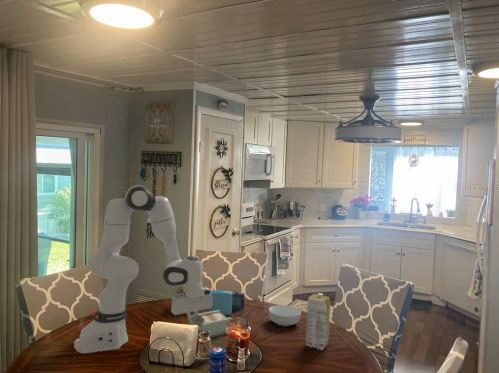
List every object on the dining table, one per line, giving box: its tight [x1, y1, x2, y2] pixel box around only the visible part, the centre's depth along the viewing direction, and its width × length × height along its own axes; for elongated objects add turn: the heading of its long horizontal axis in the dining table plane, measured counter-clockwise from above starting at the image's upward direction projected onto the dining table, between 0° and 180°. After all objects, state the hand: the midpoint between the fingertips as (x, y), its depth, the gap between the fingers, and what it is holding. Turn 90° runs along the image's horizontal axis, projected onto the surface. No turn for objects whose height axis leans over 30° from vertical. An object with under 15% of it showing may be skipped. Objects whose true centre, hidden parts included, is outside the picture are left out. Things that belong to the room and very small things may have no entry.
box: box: [189, 310, 233, 338], centre depth 193 cm, size 16×13×7 cm
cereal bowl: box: [268, 304, 302, 327], centre depth 206 cm, size 17×17×7 cm
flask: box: [232, 289, 245, 311], centre depth 225 cm, size 9×3×11 cm, turn 91°
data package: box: [208, 289, 233, 316], centre depth 217 cm, size 12×4×12 cm, turn 91°
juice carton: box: [305, 292, 331, 351], centre depth 181 cm, size 9×8×24 cm
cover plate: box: [193, 313, 228, 326], centre depth 193 cm, size 15×9×4 cm, turn 124°
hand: (191, 320), depth 187 cm, fingers closed
